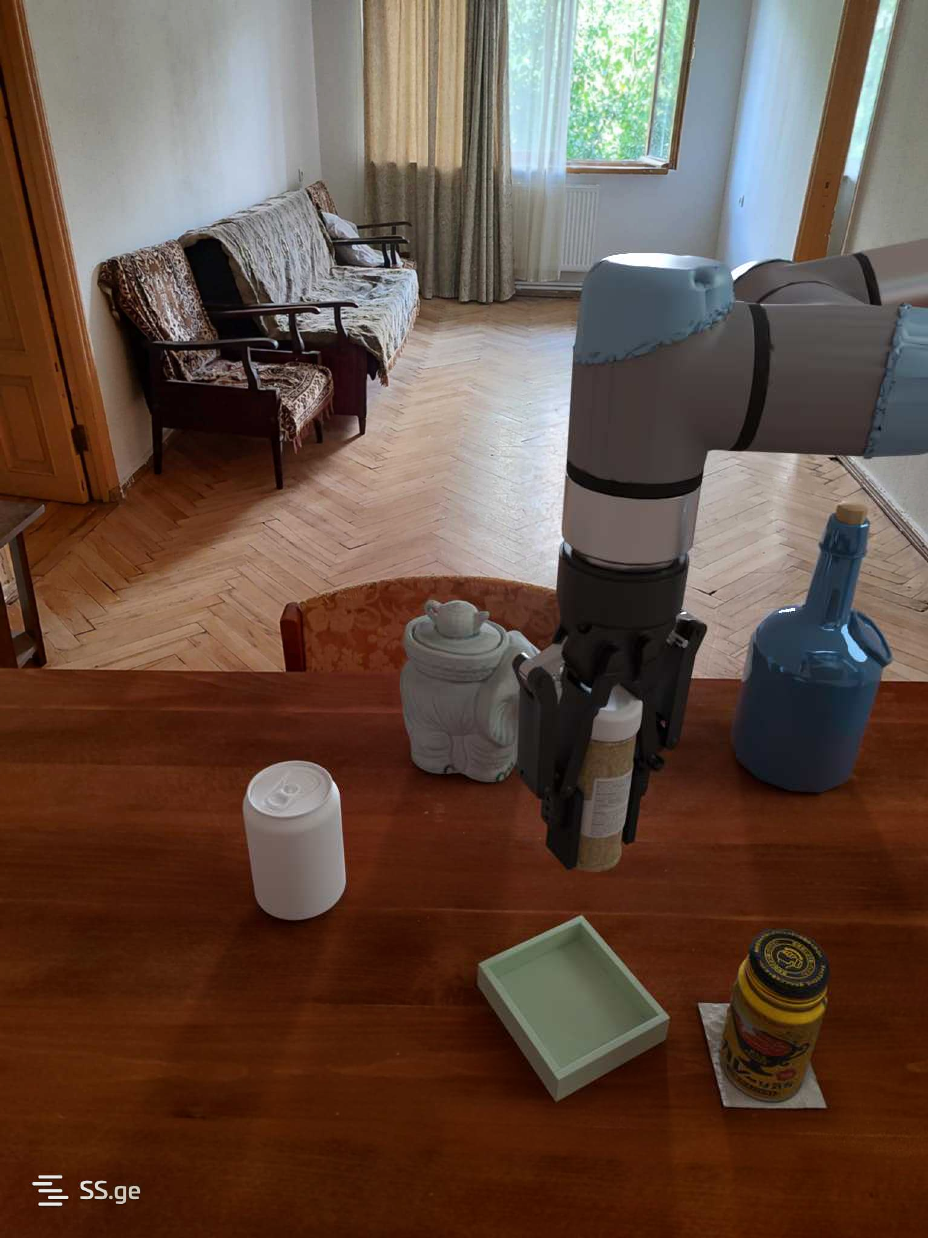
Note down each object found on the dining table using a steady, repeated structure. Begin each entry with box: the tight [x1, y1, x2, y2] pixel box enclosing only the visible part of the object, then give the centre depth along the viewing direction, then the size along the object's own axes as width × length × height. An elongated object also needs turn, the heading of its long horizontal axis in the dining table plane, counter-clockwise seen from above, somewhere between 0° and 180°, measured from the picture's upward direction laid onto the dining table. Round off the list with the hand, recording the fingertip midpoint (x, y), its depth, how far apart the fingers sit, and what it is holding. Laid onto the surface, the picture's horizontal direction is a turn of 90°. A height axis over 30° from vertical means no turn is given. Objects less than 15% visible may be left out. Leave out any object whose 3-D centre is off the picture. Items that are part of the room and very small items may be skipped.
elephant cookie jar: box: [399, 599, 564, 783], centre depth 92 cm, size 16×15×19 cm
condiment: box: [697, 928, 831, 1109], centre depth 64 cm, size 7×8×12 cm
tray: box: [476, 914, 671, 1103], centre depth 69 cm, size 11×10×3 cm
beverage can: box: [242, 760, 347, 921], centre depth 77 cm, size 8×8×12 cm
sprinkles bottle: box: [574, 684, 643, 873], centre depth 60 cm, size 5×5×13 cm
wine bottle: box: [729, 500, 894, 793], centre depth 90 cm, size 14×13×30 cm
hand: (590, 843), depth 63 cm, fingers closed on sprinkles bottle, 4 cm apart
